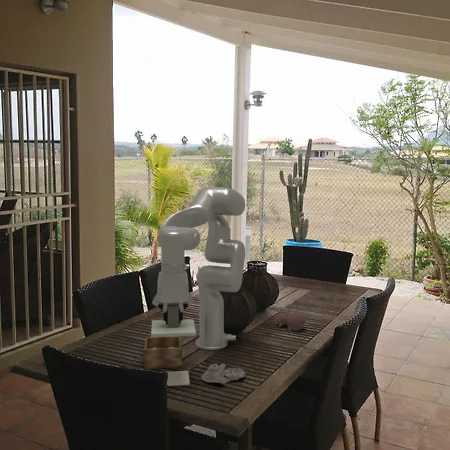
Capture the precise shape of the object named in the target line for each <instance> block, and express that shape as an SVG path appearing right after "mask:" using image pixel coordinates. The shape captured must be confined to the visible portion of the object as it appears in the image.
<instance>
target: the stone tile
mask: <svg viewBox="0 0 450 450" xmlns="http://www.w3.org/2000/svg"><path fill="white" fill-rule="evenodd" d="M166 372H167V373H168V381H167V385H168V386H167V387H171V386H172V387H175V386H176V387H177V386H190V384H191V383H190V375H189V371H188V370H179V371H166Z"/></svg>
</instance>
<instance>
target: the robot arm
mask: <svg viewBox="0 0 450 450" xmlns="http://www.w3.org/2000/svg"><path fill="white" fill-rule="evenodd" d="M245 208H246V201H245V198H244V196H243V195H242V194H241V193H240V192H238V191H237V190H235V189H233V188H231V187H223V186H205V187H203V188H201V189H199V191H198V192H197V194H196V195H195V197H194V199H192V201H191V203H190V204H189V206H188V207H185V208H183V209H181V210H179V211H177V212H175V213H173V214H171V215H169V216H168V217H167V218H166V219H165V221H164V222H162V223H163V224H162V225H161V226H160V229H159V231H158V233H157V242H158V244H159V246H160V249H161V251H160V254H161V255H160V256H161V258H160V260H161V263H160V264H161V266H160V267H161V269H160V271H158V276H157V289H156V291H157V293H156V295H155V296H154V297H153V299H152V302H151V304H152V305H154V306H155V307H156V308H159V309H160V310H161V311H162V313H163V320H164V321H166V325H167V324H168V304H172V303H178V304H179V324H181V321H183V320H184V315H183V314H184V311H185V310H186V309H187V308H188V307H189V306H191V305H193V304H195V300H194V299H193V297H192V296H191V294H190V292H189V289H190V288H189V279H188V277H189V276H188V272H187V271H186V270H188V269H190V264H186V263H185V260H186V259H185V253H186V252H185V251H192V250H195V249H196V248H198V246H199V245H200V243H201V233H200V232H199V231H198V229H197V228H196V227H200V226H204V225H205V224H207V225H208V229H207V237H206V243H205V248H204V258H205V259H206V261H208V262H210V263H214V264H225V265H226V264H227V265H230V266H223V265H222V266H221V265H212V264H211V265H204V266H201V267H200V268H199V269H198V270H197V272H196V273H197V274H196V282H197V289H198V298H199V301H198V302H199V307H198V308H199V314H198V315H199V316H198V318H199V323H198V324H199V333H198V334H199V338H197V339H196V340H195V346H196V347H197V348H199V349H202V350H208V351H214V350H216V351H217V350H220V349H224V348H225V347H227V346H228V341H236V335H235V334H234V335H232V334H231V333H225V331H224V326H225V324H224V321H225V320H224V319H225V316H224V308H225V305H224V304H225V302H224V297H223V296H222V294H221V292H226V293H237V292H238V291H239V290H240V289H241V286H242V284H243V283H242V282H243V275H244V268H245V260H246V247H245V244H244V242H242V241H241V240H237V239H230V238H229V237H230V232H231V227H230V225H229V223H228V222H227V221H228V220H226V218H225V217H224V216H231V217H232V216H233V217H238V216H241V215H243V213H244V212H245V210H246V209H245Z"/></svg>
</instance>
